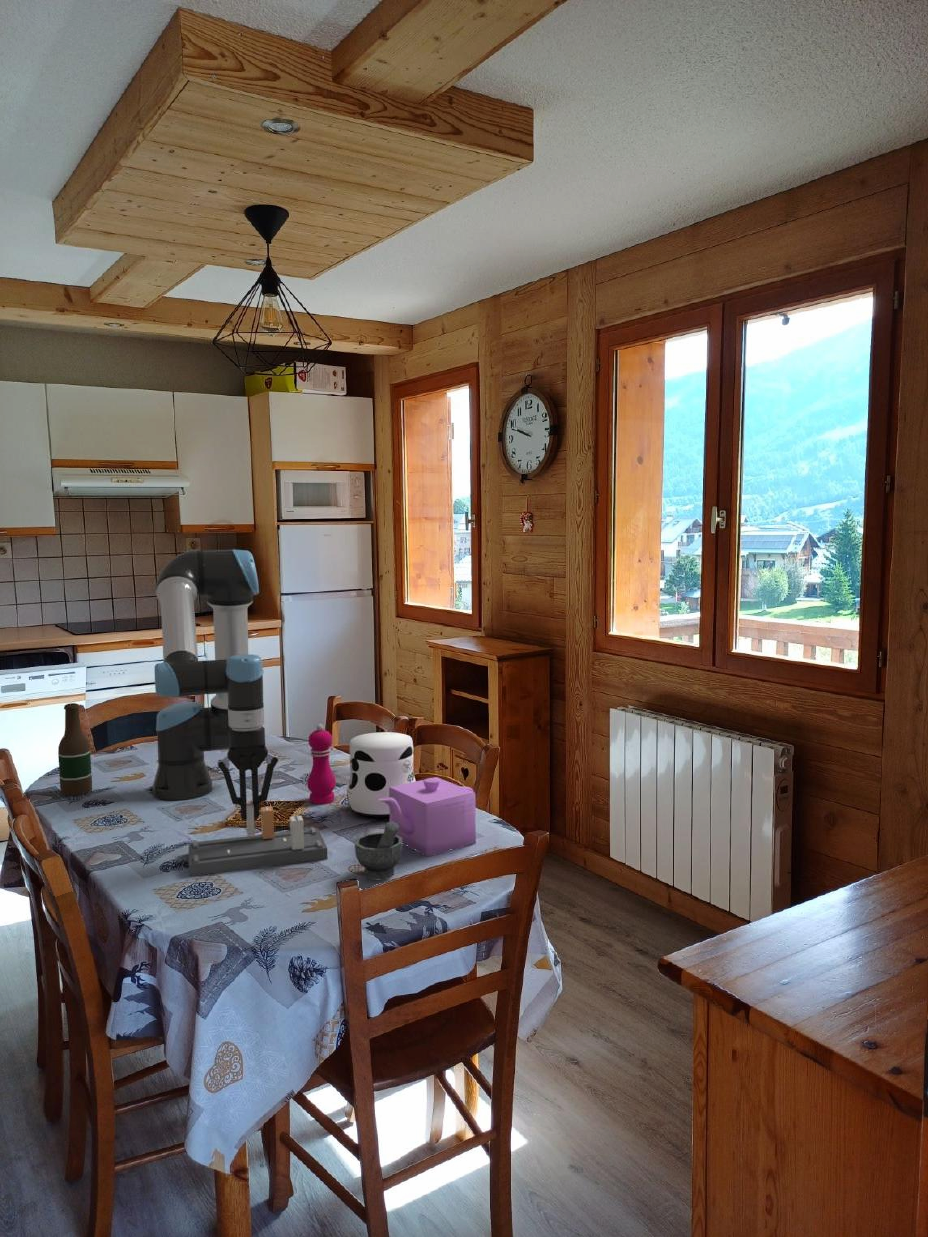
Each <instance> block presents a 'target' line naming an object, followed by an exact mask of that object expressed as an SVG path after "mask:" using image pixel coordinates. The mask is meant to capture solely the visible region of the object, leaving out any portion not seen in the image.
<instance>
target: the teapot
mask: <svg viewBox="0 0 928 1237" xmlns="http://www.w3.org/2000/svg"><path fill="white" fill-rule="evenodd" d="M379 801H382V802H385V803H386V804H387V805H388V806H389V810H390V816H389V822H394V823H396V824H397V825H398V826H399V830H398V832H397V833H396V835H398V836H400V837H402V843H403V844H402V845H404V846H406V845H408V846H409V847H408V846H407V847H408V848H410V847H411V848H410V849H412V848H413V849H412V850H414V849H416V850H417V851H419V852H420V853H419V852H418V853H419V854H421V855H423V854H424V855H423V856H425V855H426V856H425V857H427V858H428V856H429V857H432V856H434V855H433V854H436V855H439V853H440V854H443V853H446V852H445V851H447V852H449V851H448V850H450V849H454V850H457V849H456V848H458V849H460V848H459V847H461V848H463V847H462V846H465V847H467V846H466V845H468V846H471V844H472V845H475V844H476V842H477V837H476V836H477V835H476V834H477V831H476V830H477V828H476V826H477V825H476V824H477V823H476V822H477V820H476V792H475V791H474V790H473V788H471V787H469V786H460V785H458V784H456V783H452V782H450V781H448V780H444V779H442V778H440V777H437V776H435V777H429V778H425V779H420V780H416V782H411V783H407V784H402V785H398V786H393V787H390V788H389V797H386V798H381V799H379ZM417 851H416V852H417ZM450 851H451V850H450ZM442 852H443V853H442ZM431 855H432V856H431Z"/></svg>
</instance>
